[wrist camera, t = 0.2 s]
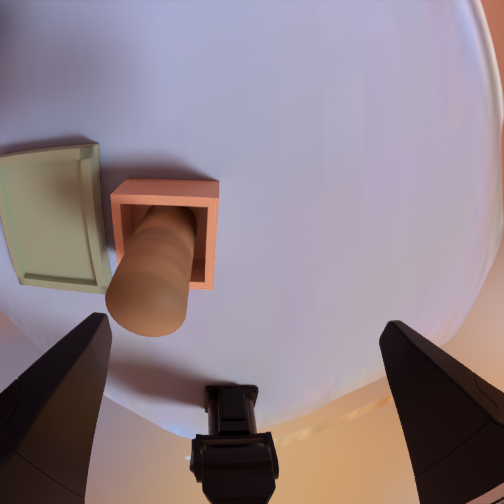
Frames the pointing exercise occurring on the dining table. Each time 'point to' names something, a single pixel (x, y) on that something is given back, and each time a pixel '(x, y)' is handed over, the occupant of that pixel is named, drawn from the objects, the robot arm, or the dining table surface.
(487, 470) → the robot arm
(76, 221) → the tray
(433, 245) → the dining table surface
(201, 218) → the holder
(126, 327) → the dowel
